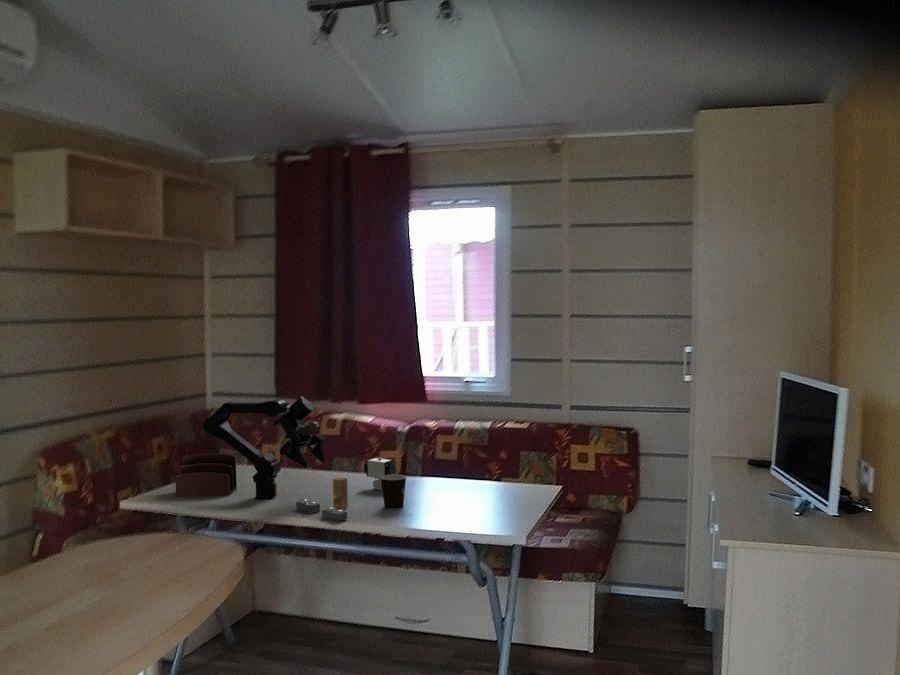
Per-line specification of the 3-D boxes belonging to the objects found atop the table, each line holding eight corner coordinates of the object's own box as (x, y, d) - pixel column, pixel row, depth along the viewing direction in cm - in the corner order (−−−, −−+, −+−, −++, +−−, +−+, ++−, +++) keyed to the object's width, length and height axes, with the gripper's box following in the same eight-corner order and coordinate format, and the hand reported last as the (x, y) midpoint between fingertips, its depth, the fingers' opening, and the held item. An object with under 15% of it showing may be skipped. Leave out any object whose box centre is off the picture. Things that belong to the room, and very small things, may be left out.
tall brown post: (333, 508, 266) (333, 479, 265) (339, 506, 269) (338, 477, 268) (341, 509, 264) (341, 480, 264) (347, 507, 267) (347, 478, 266)
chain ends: (296, 509, 266) (296, 500, 265) (306, 507, 268) (306, 497, 268) (336, 522, 249) (336, 512, 249) (347, 519, 252) (346, 510, 252)
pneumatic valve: (389, 492, 287) (388, 459, 287) (363, 488, 294) (363, 456, 293) (398, 489, 292) (397, 457, 292) (372, 485, 298) (372, 454, 298)
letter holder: (184, 490, 296) (183, 453, 295) (237, 489, 296) (236, 452, 296) (175, 497, 286) (174, 458, 285) (230, 496, 286) (228, 457, 286)
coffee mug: (392, 501, 274) (391, 473, 273) (411, 505, 269) (411, 476, 268) (370, 509, 264) (369, 479, 264) (389, 513, 259) (389, 482, 259)
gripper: (286, 417, 268) (310, 454, 262) (322, 411, 283) (345, 446, 278) (268, 437, 272) (291, 474, 267) (305, 430, 288) (327, 465, 283)
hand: (315, 464), depth 274 cm, fingers open, 9 cm apart
